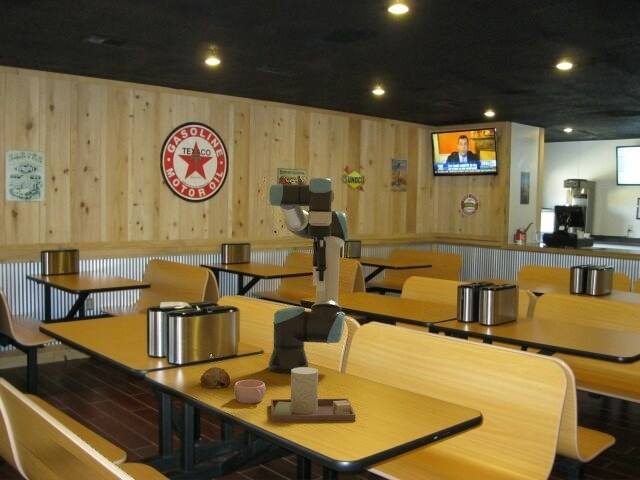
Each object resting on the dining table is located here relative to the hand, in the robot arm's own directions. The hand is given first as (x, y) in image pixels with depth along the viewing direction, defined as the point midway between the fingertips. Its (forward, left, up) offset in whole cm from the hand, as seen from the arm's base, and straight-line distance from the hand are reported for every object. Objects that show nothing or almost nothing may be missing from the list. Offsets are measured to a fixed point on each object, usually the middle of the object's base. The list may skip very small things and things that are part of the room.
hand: (318, 288), depth 222 cm
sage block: (+29, -12, -34) cm, 46 cm away
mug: (+12, -22, -35) cm, 43 cm away
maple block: (+28, +4, -34) cm, 45 cm away
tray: (+25, -4, -35) cm, 43 cm away
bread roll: (-9, -35, -35) cm, 50 cm away
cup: (+22, -6, -34) cm, 41 cm away
